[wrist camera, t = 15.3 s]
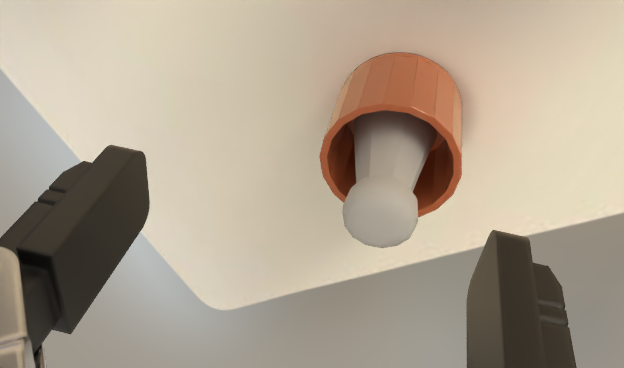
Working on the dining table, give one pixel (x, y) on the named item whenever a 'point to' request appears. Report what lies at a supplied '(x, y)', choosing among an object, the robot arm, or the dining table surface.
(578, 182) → the dining table surface
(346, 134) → the cup
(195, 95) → the dining table surface
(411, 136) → the salt shaker
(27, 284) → the robot arm
